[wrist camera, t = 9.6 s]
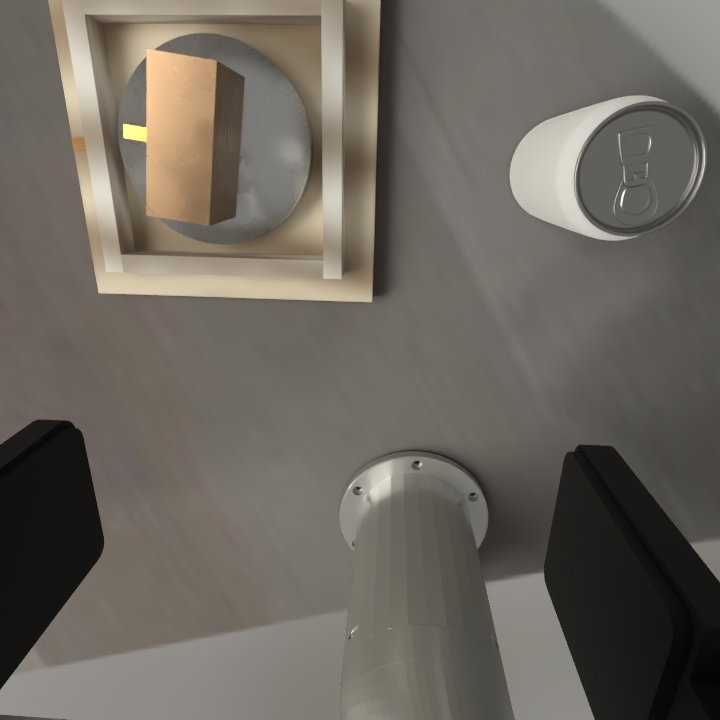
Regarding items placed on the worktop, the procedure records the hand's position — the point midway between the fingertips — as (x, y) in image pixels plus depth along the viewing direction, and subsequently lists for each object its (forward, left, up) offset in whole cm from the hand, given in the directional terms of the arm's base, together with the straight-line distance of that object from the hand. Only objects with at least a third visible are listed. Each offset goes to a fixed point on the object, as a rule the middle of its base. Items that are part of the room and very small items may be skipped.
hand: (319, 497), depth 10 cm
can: (+6, -12, -28) cm, 32 cm away
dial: (+7, +10, -27) cm, 29 cm away
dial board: (+7, +10, -28) cm, 31 cm away
